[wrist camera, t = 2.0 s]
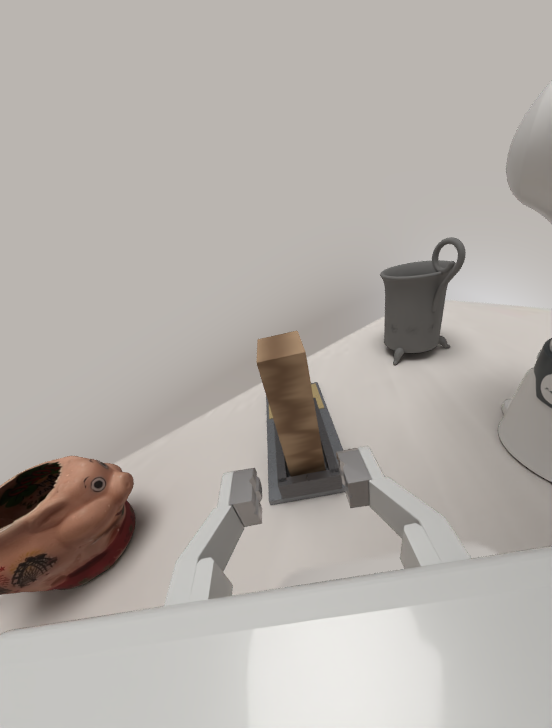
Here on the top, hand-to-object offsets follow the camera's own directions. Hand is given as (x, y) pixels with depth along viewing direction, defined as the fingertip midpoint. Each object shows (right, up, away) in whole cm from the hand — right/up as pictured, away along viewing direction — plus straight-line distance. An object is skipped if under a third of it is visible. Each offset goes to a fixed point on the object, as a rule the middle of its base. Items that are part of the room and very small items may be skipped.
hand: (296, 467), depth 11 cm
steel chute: (+3, -8, +31) cm, 32 cm away
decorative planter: (-27, -21, +21) cm, 40 cm away
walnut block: (+4, -10, +24) cm, 26 cm away
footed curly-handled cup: (+33, +8, +46) cm, 57 cm away
